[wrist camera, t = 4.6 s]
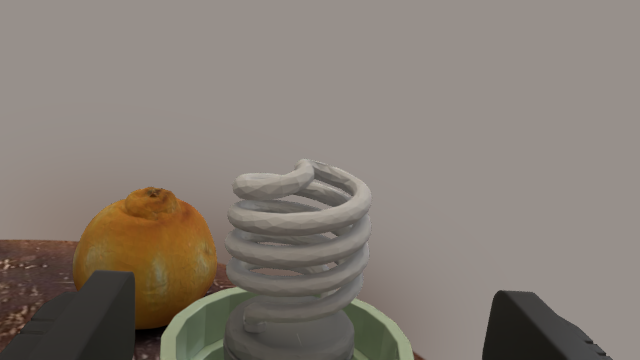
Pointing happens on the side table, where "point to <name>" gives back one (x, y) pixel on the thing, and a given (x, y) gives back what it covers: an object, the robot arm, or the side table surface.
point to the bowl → (213, 311)
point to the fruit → (151, 252)
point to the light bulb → (296, 264)
